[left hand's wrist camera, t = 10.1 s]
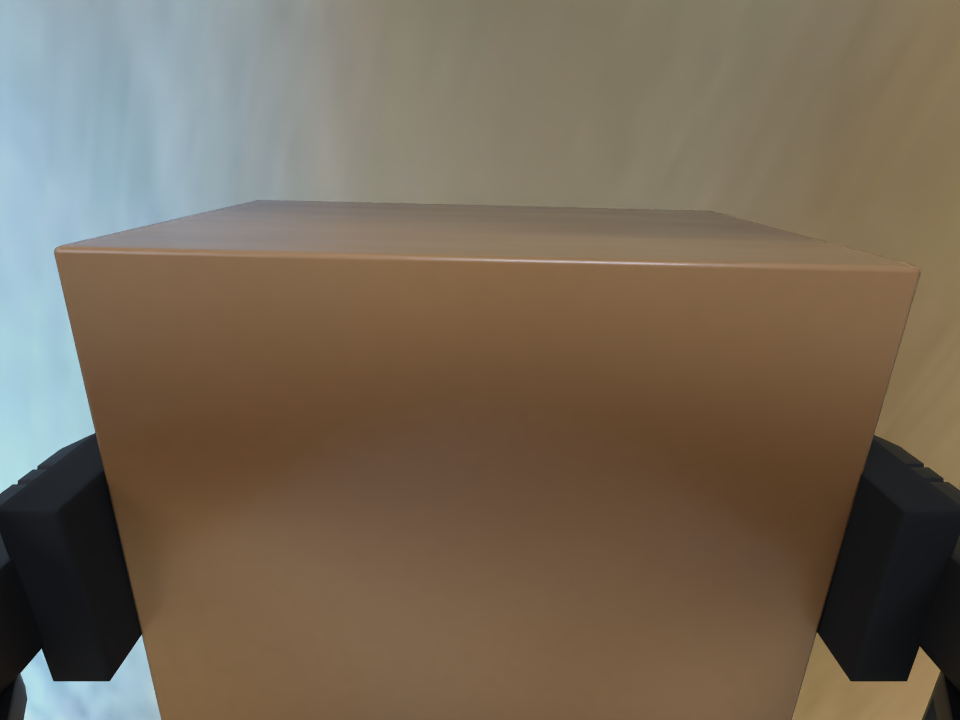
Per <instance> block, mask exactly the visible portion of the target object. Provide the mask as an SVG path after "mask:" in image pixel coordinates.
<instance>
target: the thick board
mask: <svg viewBox="0 0 960 720" xmlns="http://www.w3.org/2000/svg"><path fill="white" fill-rule="evenodd" d="M54 254H55V259H56V263H57V267H58V272H59V276H60V280H61V285H62V289H63V293H64V298H65V302H66V306H67V311H68V315H69V319H70V324H71V328H72V333H73V337H74V341H75V346H76V350H77V354H78V359H79V363H80V367H81V372H82V376H83V380H84V385H85V389H86V394H87V398H88V402H89V407H90V411H91V415H92V420H93V424H94V428H95V433H96V437H97V441H98V446H99V450H100V454H101V459H102V463H103V468H104V472H105V476H106V481H107V485H108V489H109V494H110V498H111V502H112V507H113V511H114V515H115V520H116V524H117V528H118V533H119V537H120V542H121V546H122V550H123V555H124V559H125V563H126V568H127V572H128V576H129V581H130V585H131V589H132V594H133V598H134V602H135V607H136V611H137V616H138V620H139V624H140V629H141V633H142V637H143V642H144V646H145V650H146V655H147V659H148V663H149V668H150V672H151V676H152V681H153V685H154V690H155V694H156V698H157V703H158V707H159V711H160V716H161V720H792V716H793V713H794V710H795V706H796V703H797V699H798V696H799V692H800V689H801V685H802V682H803V678H804V675H805V671H806V668H807V665H808V661H809V658H810V654H811V651H812V647H813V644H814V640H815V637H816V633H817V630H818V626H819V623H820V619H821V616H822V613H823V609H824V606H825V602H826V599H827V595H828V592H829V588H830V585H831V581H832V578H833V574H834V571H835V568H836V564H837V561H838V557H839V554H840V550H841V547H842V543H843V540H844V536H845V533H846V529H847V526H848V522H849V519H850V515H851V512H852V508H853V504H854V501H855V497H856V493H857V489H858V486H859V482H860V478H861V475H862V474H863V471H864V467H865V464H866V460H867V457H868V453H869V450H870V446H871V443H872V439H873V436H874V432H875V429H876V426H877V422H878V419H879V415H880V412H881V408H882V405H883V401H884V398H885V394H886V391H887V387H888V384H889V380H890V377H891V374H892V370H893V367H894V363H895V360H896V356H897V353H898V349H899V346H900V342H901V339H902V335H903V332H904V329H905V325H906V322H907V318H908V315H909V311H910V308H911V304H912V301H913V297H914V294H915V290H916V287H917V284H918V280H919V277H920V269H919V268H918V267H916V266H914V265H910V264H907V263H903V262H899V261H896V260H892V259H888V258H884V257H881V256H877V255H873V254H869V253H866V252H862V251H858V250H854V249H851V248H847V247H843V246H840V245H836V244H832V243H828V242H825V241H821V240H817V239H813V238H810V237H806V236H802V235H799V234H795V233H791V232H787V231H784V230H780V229H776V228H772V227H769V226H765V225H761V224H757V223H754V222H750V221H746V220H743V219H739V218H735V217H731V216H728V215H724V214H720V213H716V212H713V211H693V210H651V209H610V208H569V207H527V206H486V205H444V204H403V203H361V202H320V201H279V200H256V201H252V202H248V203H243V204H239V205H235V206H230V207H226V208H222V209H217V210H213V211H209V212H204V213H200V214H196V215H191V216H187V217H183V218H178V219H174V220H170V221H165V222H161V223H157V224H152V225H148V226H144V227H139V228H135V229H131V230H126V231H122V232H117V233H113V234H109V235H104V236H100V237H96V238H91V239H87V240H83V241H78V242H74V243H70V244H65V245H61V246H59V247H57V248H56V249H55V252H54Z"/></svg>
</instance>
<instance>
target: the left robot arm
mask: <svg viewBox="0 0 960 720" xmlns="http://www.w3.org/2000/svg"><path fill="white" fill-rule="evenodd" d="M817 633H818V634H819V635H820V637H821V638H822V640H823V641H824V643H825V644H826V646H827V647H828V649H829V650H830V652H831V653H832V655H833V656H834V657H835V659H836V660H837V662H838V663H839V665H840V666H841V668H842V669H843V671H844V672H845V674H846V675H847V676H848V678H849V679H850V681H907V680H908V677H909V674H910V671H911V669H912V666H913V663H914V660H915V658H916V655H917V652H918V649H919V646H920V647H921V648H922V649H923V650H924V652H925V653H926V654H927V655H928V656H929V657H930V658H931V660H932V661H933V662H934V663H935V664H936V665H937V667H938V668H939V669H940V670H941V672H940V674H939V677H938V679H937V682H936V685H935V687H934V690H933V692H932V695H931V698H930V700H929V703H928V705H927V708H926V711H925V713H924V716H923V718H922V720H960V490H958V489H957V488H956V487H954V486H953V485H952V484H950V483H949V482H944V481H943V478H942V477H941V476H939V475H938V474H937V473H935V472H934V471H932V470H931V469H930V468H924V464H923V463H922V462H920V461H919V460H917V459H916V458H915V457H913V456H912V455H911V454H909V453H908V452H907V451H905V450H904V449H902V448H901V447H899V446H897V445H895V444H893V443H891V442H889V441H886V440H884V439H882V438H880V437H878V436H876V435H874V436H873V439H872V443H871V446H870V450H869V453H868V457H867V460H866V464H865V467H864V471H863V474H862V475H861V478H860V482H859V486H858V489H857V493H856V497H855V501H854V504H853V508H852V512H851V515H850V519H849V522H848V526H847V529H846V533H845V536H844V540H843V543H842V547H841V550H840V554H839V557H838V561H837V564H836V568H835V571H834V574H833V578H832V581H831V585H830V588H829V592H828V595H827V599H826V602H825V606H824V609H823V613H822V616H821V619H820V623H819V626H818V630H817ZM141 635H142V633H141V629H140V624H139V620H138V616H137V611H136V607H135V602H134V598H133V594H132V589H131V585H130V581H129V576H128V572H127V568H126V563H125V559H124V555H123V550H122V546H121V542H120V537H119V533H118V528H117V524H116V520H115V515H114V511H113V507H112V502H111V498H110V494H109V489H108V485H107V481H106V476H105V472H104V468H103V463H102V459H101V454H100V450H99V446H98V441H97V437H96V433H94V434H92V435H90V436H88V437H86V438H83V439H81V440H79V441H77V442H75V443H73V444H71V445H68V446H66V447H64V448H62V449H60V450H59V451H57V452H56V453H55V454H53V455H52V456H51V457H49V458H48V459H47V460H45V461H44V462H43V463H41V464H40V465H39V466H38V468H37V470H32V471H30V472H29V473H28V474H26V475H25V476H24V477H22V478H21V479H20V480H18V484H17V485H12V486H10V487H9V488H7V489H6V490H5V491H3V492H2V493H1V494H0V720H24V714H25V708H26V702H27V695H26V688H25V685H24V682H23V679H22V677H21V674H20V673H21V672H22V670H23V669H24V668H25V667H26V666H27V665H28V664H29V662H30V661H31V660H32V659H33V658H34V657H35V655H36V654H37V653H38V652H39V651H40V650H41V648H42V650H43V653H44V656H45V659H46V662H47V664H48V667H49V670H50V673H51V675H52V678H53V681H110V680H111V679H112V677H113V676H114V674H115V673H116V671H117V670H118V668H119V667H120V665H121V664H122V662H123V661H124V660H125V658H126V657H127V655H128V654H129V652H130V651H131V649H132V648H133V646H134V645H135V643H136V642H137V640H138V639H139V638H140V636H141Z"/></svg>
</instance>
